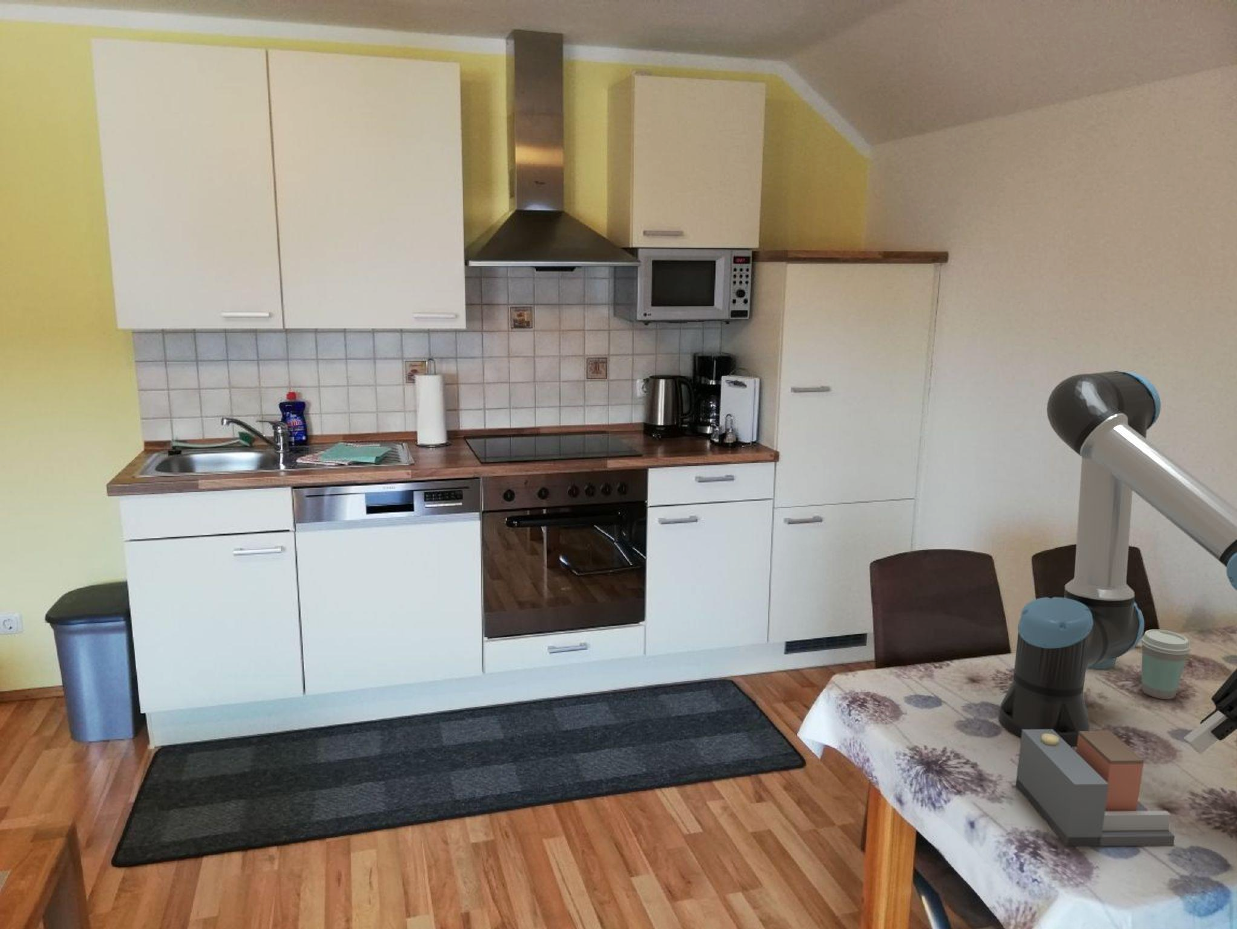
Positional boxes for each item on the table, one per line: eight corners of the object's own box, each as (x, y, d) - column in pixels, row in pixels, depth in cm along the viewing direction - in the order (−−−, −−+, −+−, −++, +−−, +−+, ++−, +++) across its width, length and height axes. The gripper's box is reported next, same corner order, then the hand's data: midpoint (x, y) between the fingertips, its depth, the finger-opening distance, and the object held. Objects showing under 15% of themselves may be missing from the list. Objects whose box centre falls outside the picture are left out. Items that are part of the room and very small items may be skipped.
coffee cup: (1192, 703, 178) (1201, 645, 175) (1148, 702, 178) (1156, 644, 176) (1167, 683, 186) (1175, 628, 184) (1125, 682, 186) (1133, 627, 184)
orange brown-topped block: (1102, 819, 136) (1110, 760, 134) (1071, 786, 144) (1078, 731, 142) (1135, 818, 136) (1143, 760, 134) (1102, 786, 145) (1110, 730, 143)
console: (1066, 846, 132) (1075, 779, 130) (1015, 785, 148) (1022, 724, 146) (1173, 845, 133) (1184, 778, 131) (1111, 784, 149) (1119, 724, 147)
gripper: (1369, 681, 130) (1235, 785, 133) (1300, 643, 142) (1179, 739, 145) (1341, 646, 128) (1205, 752, 131) (1273, 611, 141) (1151, 709, 144)
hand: (1192, 745), depth 138 cm, fingers closed
